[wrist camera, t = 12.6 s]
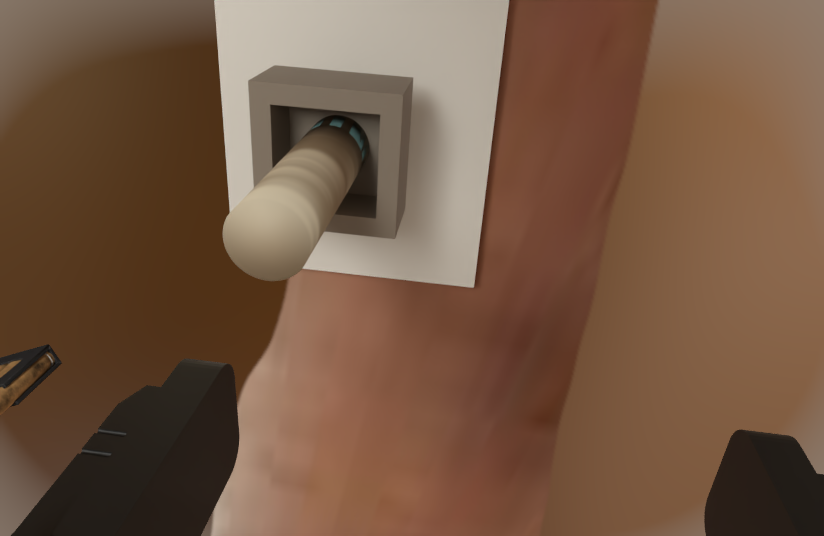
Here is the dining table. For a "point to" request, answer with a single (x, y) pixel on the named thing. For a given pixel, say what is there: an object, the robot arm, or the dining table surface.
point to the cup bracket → (372, 119)
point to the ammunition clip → (24, 374)
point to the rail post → (296, 200)
